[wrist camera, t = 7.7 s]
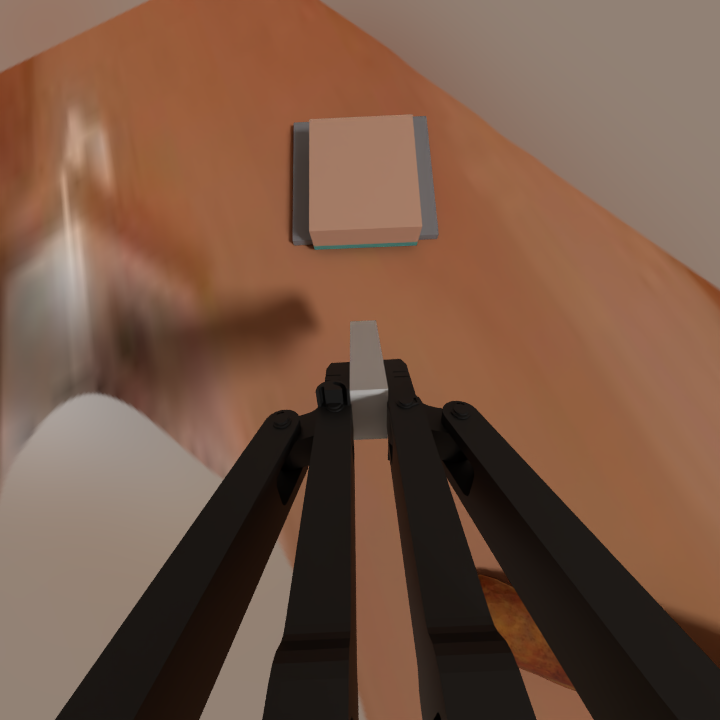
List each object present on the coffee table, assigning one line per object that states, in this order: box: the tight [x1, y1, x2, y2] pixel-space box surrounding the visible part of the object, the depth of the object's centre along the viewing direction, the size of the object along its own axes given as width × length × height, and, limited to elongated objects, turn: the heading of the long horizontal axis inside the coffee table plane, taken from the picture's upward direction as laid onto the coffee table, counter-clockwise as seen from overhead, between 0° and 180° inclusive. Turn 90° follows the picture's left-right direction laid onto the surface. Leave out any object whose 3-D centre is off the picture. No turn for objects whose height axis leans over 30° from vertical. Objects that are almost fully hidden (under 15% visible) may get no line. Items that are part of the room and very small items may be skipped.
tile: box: [309, 114, 422, 250], centre depth 24 cm, size 9×2×11 cm
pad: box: [293, 116, 439, 245], centre depth 26 cm, size 13×13×1 cm
